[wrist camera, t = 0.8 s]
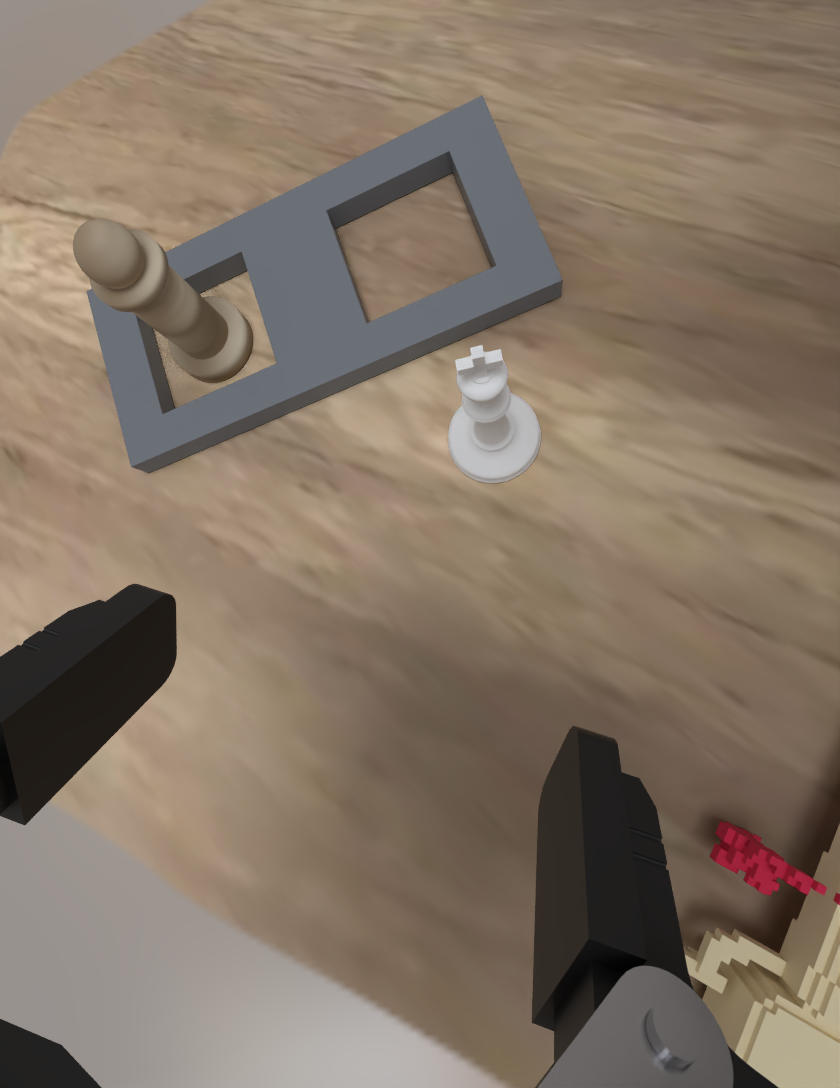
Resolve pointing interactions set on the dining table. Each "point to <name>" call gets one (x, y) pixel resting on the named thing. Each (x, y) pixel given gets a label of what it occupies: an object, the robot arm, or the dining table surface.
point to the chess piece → (491, 422)
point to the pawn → (163, 299)
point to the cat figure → (778, 970)
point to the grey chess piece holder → (332, 288)
